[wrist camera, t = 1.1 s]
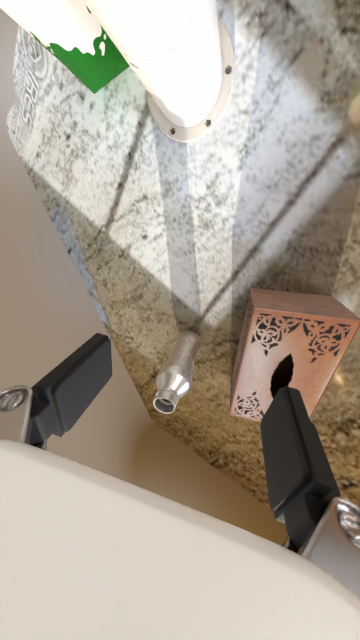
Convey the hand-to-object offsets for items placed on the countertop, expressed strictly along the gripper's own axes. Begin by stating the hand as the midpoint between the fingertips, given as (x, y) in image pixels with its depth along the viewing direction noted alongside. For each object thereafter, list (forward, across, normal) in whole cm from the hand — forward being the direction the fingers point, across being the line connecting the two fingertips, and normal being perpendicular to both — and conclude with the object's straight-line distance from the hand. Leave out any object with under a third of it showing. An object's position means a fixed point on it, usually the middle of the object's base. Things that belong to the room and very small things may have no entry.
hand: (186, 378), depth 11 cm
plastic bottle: (+32, +3, +20) cm, 38 cm away
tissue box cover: (+32, -15, +16) cm, 39 cm away
